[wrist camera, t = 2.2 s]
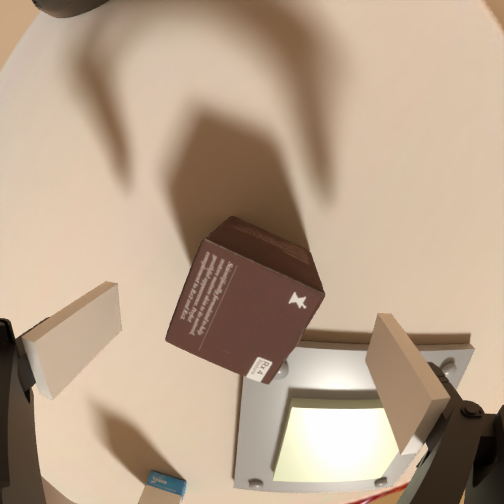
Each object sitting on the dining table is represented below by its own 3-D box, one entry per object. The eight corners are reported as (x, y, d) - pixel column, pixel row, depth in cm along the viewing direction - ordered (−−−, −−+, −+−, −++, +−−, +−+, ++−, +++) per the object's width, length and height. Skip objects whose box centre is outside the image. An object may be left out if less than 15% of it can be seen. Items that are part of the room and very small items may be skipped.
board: (247, 335, 22) (244, 351, 20) (469, 343, 20) (481, 355, 18) (234, 481, 27) (232, 495, 25) (390, 481, 26) (393, 493, 24)
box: (231, 212, 20) (203, 233, 13) (313, 251, 20) (330, 293, 13) (198, 289, 21) (161, 341, 14) (273, 324, 21) (268, 389, 14)
